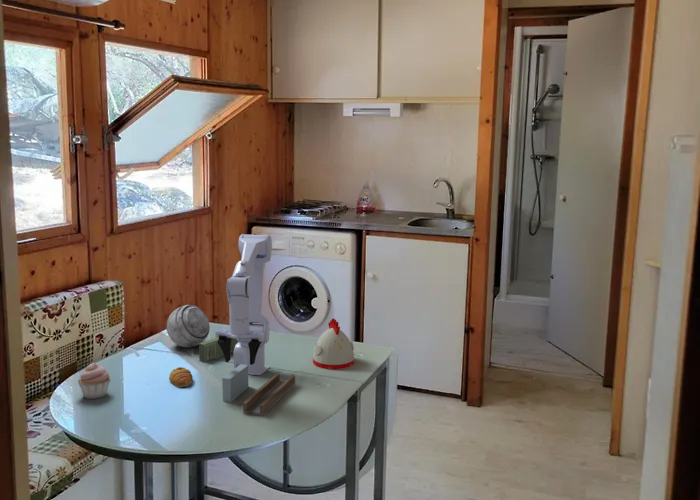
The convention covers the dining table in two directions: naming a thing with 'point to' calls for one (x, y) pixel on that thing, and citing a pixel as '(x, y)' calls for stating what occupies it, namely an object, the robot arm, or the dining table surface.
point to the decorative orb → (188, 326)
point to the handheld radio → (213, 349)
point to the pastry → (180, 377)
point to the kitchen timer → (333, 349)
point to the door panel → (235, 382)
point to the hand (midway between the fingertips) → (240, 362)
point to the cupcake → (94, 381)
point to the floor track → (268, 395)
